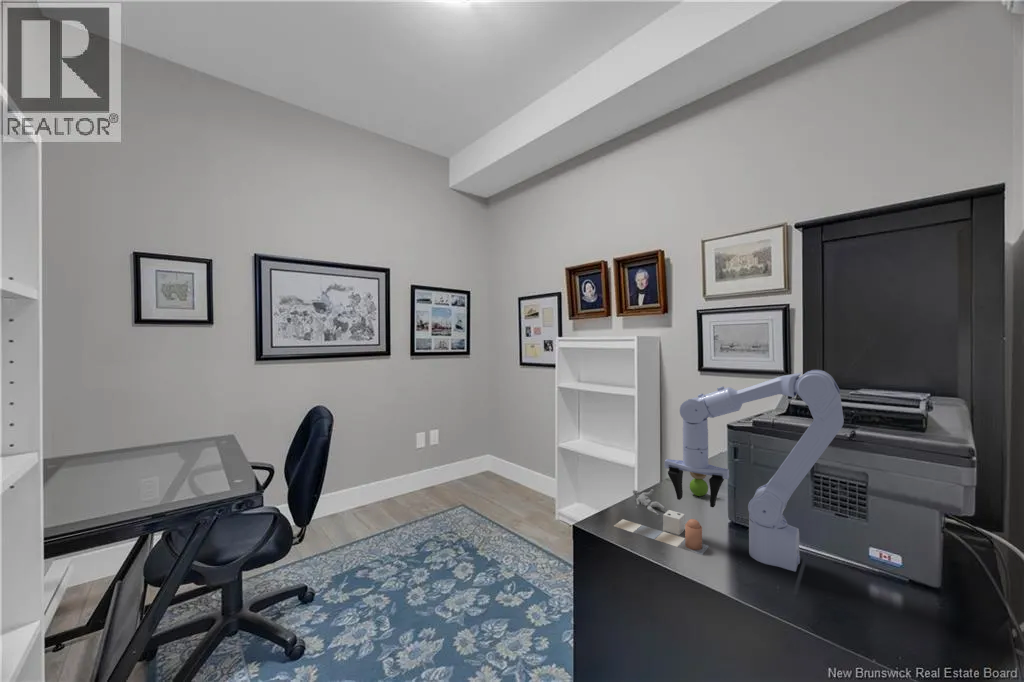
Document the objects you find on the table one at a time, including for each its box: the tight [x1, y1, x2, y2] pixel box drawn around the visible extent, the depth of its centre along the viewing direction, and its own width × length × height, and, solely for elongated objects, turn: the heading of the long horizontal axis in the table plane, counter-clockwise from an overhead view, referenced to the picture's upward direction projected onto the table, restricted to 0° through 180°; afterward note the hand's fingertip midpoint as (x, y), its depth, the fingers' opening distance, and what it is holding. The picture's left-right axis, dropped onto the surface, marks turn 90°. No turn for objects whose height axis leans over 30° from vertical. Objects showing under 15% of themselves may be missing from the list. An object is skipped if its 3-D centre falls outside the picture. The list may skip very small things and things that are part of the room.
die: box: [662, 509, 686, 536], centre depth 105 cm, size 4×4×4 cm
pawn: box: [684, 518, 703, 550], centre depth 96 cm, size 4×4×6 cm
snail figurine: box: [689, 472, 709, 497], centre depth 130 cm, size 5×6×12 cm
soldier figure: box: [632, 489, 668, 516], centre depth 120 cm, size 8×5×12 cm
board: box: [613, 518, 710, 556], centre depth 104 cm, size 22×12×1 cm, turn 49°
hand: (695, 502), depth 101 cm, fingers open, 7 cm apart
